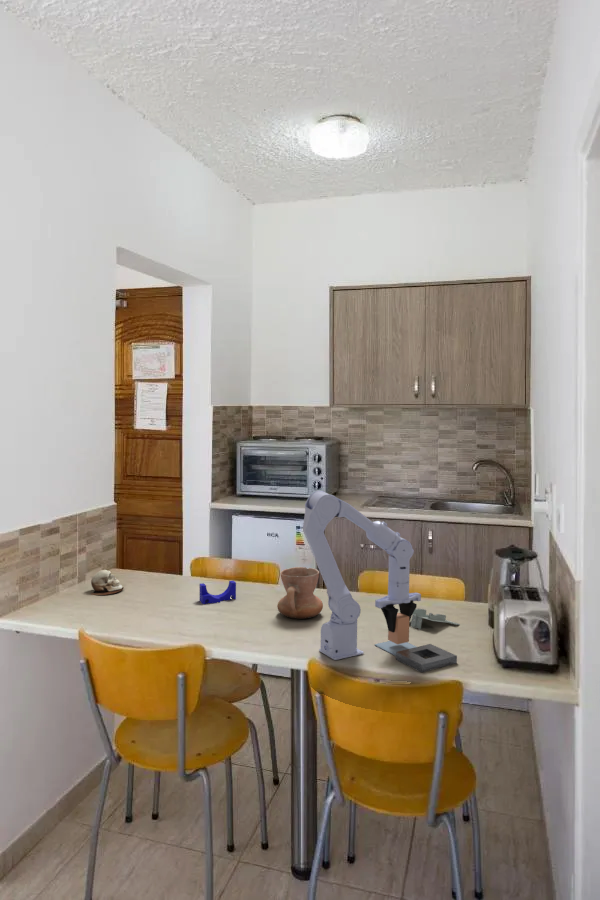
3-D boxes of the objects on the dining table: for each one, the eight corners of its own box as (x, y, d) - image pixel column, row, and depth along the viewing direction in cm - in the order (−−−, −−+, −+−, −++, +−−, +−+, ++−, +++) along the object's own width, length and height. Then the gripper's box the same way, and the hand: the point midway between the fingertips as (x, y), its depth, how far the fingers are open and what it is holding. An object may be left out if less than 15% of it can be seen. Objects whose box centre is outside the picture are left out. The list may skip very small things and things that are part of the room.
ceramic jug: (289, 605, 219) (289, 563, 218) (330, 609, 213) (330, 567, 212) (266, 622, 202) (266, 576, 201) (310, 627, 197) (309, 581, 195)
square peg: (397, 644, 177) (397, 618, 177) (388, 639, 180) (388, 614, 180) (408, 641, 179) (409, 616, 179) (399, 637, 182) (399, 612, 182)
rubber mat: (395, 655, 174) (395, 654, 174) (374, 645, 182) (374, 644, 182) (421, 649, 179) (421, 648, 179) (399, 639, 186) (399, 638, 186)
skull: (127, 583, 241) (123, 567, 234) (122, 607, 234) (118, 592, 226) (94, 582, 240) (89, 566, 233) (88, 606, 233) (83, 591, 226)
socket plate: (421, 672, 163) (421, 664, 163) (395, 659, 171) (395, 651, 171) (456, 663, 169) (456, 655, 169) (430, 651, 178) (430, 643, 177)
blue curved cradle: (202, 604, 219) (202, 587, 218) (199, 601, 223) (199, 583, 223) (237, 601, 223) (237, 583, 223) (233, 597, 228) (233, 580, 227)
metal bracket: (437, 615, 191) (396, 604, 202) (433, 635, 190) (393, 623, 201) (463, 619, 201) (422, 608, 212) (459, 638, 200) (419, 626, 211)
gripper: (387, 588, 172) (386, 638, 173) (428, 580, 179) (427, 629, 180) (370, 581, 178) (370, 630, 179) (411, 575, 185) (410, 622, 186)
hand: (397, 629), depth 180 cm, fingers closed on square peg, 4 cm apart
